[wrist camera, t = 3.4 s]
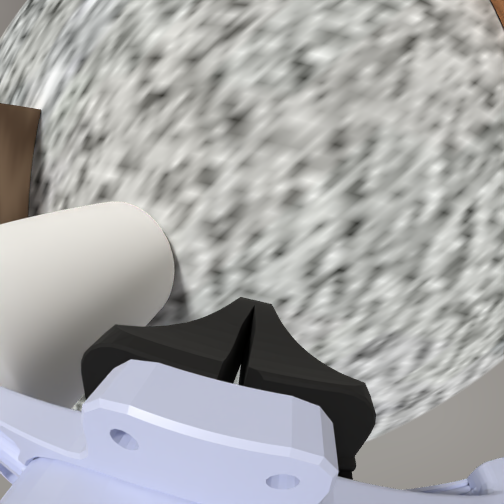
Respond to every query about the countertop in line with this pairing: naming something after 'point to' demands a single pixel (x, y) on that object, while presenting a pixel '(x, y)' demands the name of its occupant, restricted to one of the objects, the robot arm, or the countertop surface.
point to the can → (75, 291)
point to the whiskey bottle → (499, 9)
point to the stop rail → (16, 159)
